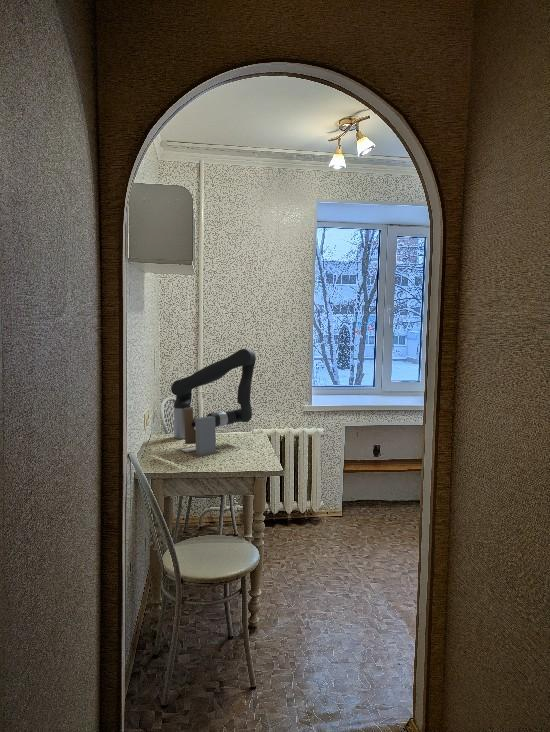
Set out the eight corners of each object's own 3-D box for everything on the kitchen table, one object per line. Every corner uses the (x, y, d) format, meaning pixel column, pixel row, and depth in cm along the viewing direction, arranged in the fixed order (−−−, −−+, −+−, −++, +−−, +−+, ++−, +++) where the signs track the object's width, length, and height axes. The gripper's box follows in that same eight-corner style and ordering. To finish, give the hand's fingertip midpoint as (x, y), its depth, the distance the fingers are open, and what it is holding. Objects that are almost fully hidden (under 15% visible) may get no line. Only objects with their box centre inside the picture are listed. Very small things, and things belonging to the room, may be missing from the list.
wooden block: (202, 440, 296) (201, 406, 293) (203, 443, 292) (202, 408, 289) (185, 441, 295) (183, 407, 292) (185, 444, 291) (183, 409, 287)
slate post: (195, 454, 283) (195, 418, 282) (211, 451, 289) (210, 415, 287) (200, 455, 280) (199, 419, 279) (215, 452, 286) (215, 417, 284)
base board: (175, 451, 294) (175, 448, 294) (199, 447, 303) (199, 444, 303) (197, 459, 277) (197, 456, 277) (222, 455, 286) (222, 452, 286)
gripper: (209, 410, 307) (181, 414, 296) (224, 414, 296) (196, 418, 285) (209, 424, 308) (182, 429, 297) (224, 428, 296) (196, 433, 286)
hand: (189, 423), depth 291 cm, fingers closed on wooden block, 5 cm apart
